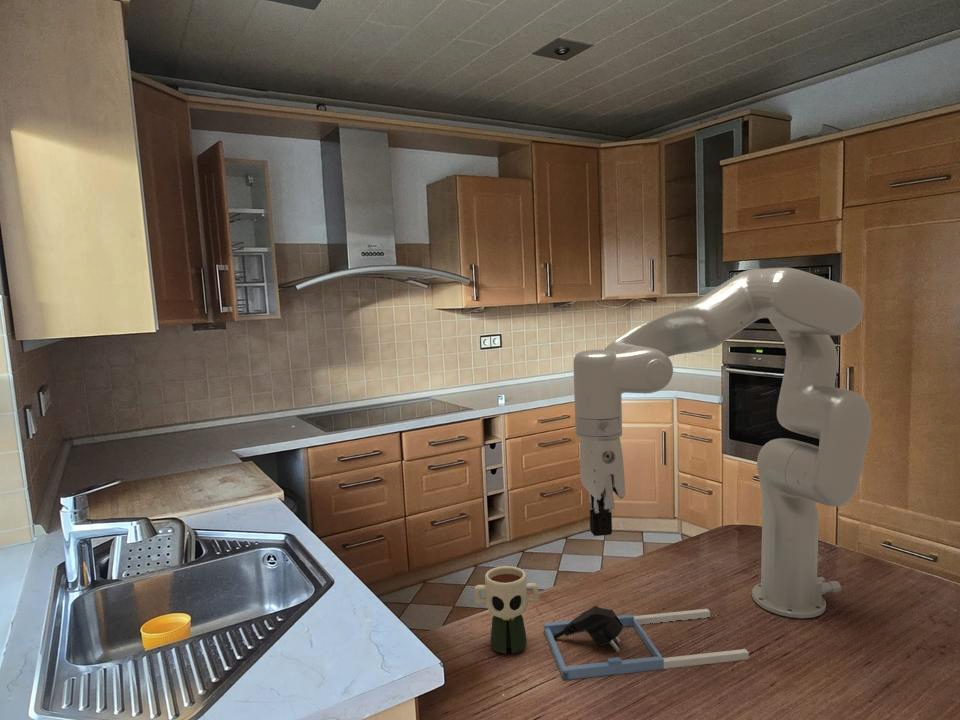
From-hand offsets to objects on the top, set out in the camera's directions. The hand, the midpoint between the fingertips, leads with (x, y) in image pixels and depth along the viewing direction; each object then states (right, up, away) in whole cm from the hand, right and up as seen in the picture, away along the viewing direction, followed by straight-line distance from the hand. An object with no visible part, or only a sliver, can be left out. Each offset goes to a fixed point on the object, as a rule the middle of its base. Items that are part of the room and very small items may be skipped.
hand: (601, 533), depth 103 cm
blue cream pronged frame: (+8, -20, +3) cm, 22 cm away
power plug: (-2, -21, +4) cm, 21 cm away
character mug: (-15, -21, +4) cm, 26 cm away
